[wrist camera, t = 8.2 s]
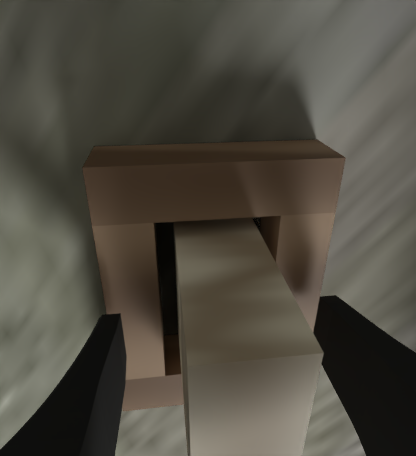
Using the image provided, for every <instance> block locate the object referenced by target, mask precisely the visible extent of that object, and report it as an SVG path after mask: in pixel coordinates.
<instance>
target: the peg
mask: <svg viewBox="0 0 416 456" xmlns="http://www.w3.org/2000/svg"><path fill="white" fill-rule="evenodd" d="M173 234H174V256H175V278H176V300H177V322H178V335H179V348H180V361H181V374H182V387H183V400H184V413H185V426H186V439H187V452H188V456H302V452H303V448H304V443H305V438H306V434H307V429H308V424H309V420H310V415H311V410H312V406H313V401H314V396H315V392H316V387H317V382H318V378H319V373H320V368H321V364H322V359H323V354H324V352H323V351H322V349H321V347H320V345H319V343H318V341H317V339H316V337H315V336H314V334H313V332H312V330H311V328H310V326H309V324H308V322H307V321H306V319H305V317H304V315H303V313H302V311H301V309H300V307H299V305H298V304H297V302H296V300H295V298H294V296H293V294H292V292H291V290H290V289H289V287H288V285H287V283H286V281H285V279H284V277H283V275H282V273H281V272H280V270H279V268H278V266H277V264H276V262H275V260H274V258H273V257H272V255H271V253H270V251H269V249H268V247H267V245H266V243H265V241H264V240H263V238H262V236H261V234H260V232H259V230H258V228H257V226H256V225H255V223H254V221H253V219H252V217H249V218H231V219H213V220H196V221H178V222H173Z"/></svg>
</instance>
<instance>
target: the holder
mask: <svg viewBox="0 0 416 456" xmlns="http://www.w3.org/2000/svg"><path fill="white" fill-rule="evenodd" d="M344 164H345V157H344V156H342V155H341V154H339V153H337V152H336V151H334V150H333V149H331V148H330V147H328V146H326V145H325V144H323V143H322V142H320V141H319V140H317V139H316V140H284V141H253V142H221V143H189V144H158V145H126V146H94V147H93V149H92V151H91V153H90V155H89V156H88V158H87V160H86V162H85V164H84V166H83V167H82V169H83V175H84V181H85V187H86V193H87V199H88V205H89V211H90V217H91V223H92V229H93V235H94V241H95V247H96V253H97V259H98V265H99V271H100V277H101V283H102V289H103V295H104V301H105V307H106V313H107V314H117V313H121V320H122V327H123V334H124V341H125V347H126V354H127V361H126V384H125V391H124V398H123V404H122V409H123V411H130V410H139V409H147V408H156V407H165V406H174V405H183V404H184V400H183V387H182V374H181V361H180V348H179V335H178V334H174V335H164V328H163V315H162V301H161V288H160V274H159V260H158V247H157V233H156V223H160V222H178V221H196V220H213V219H231V218H249V217H261V220H260V234H261V236H262V238H263V240H264V241H265V243H266V245H267V247H268V249H269V251H270V253H271V255H272V257H273V258H274V260H275V262H276V264H277V266H278V268H279V270H280V272H281V273H282V275H283V277H284V279H285V281H286V283H287V285H288V287H289V289H290V290H291V292H292V294H293V296H294V298H295V300H296V302H297V304H298V305H299V307H300V309H301V311H302V313H303V315H304V317H305V319H306V321H307V322H308V324H309V326H310V328H311V330H312V332H313V331H314V325H315V320H316V314H317V309H318V303H319V298H320V293H321V288H322V283H323V277H324V272H325V266H326V261H327V256H328V250H329V245H330V239H331V234H332V229H333V223H334V218H335V212H336V207H337V202H338V196H339V191H340V185H341V180H342V175H343V169H344Z"/></svg>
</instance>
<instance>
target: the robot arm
mask: <svg viewBox="0 0 416 456" xmlns="http://www.w3.org/2000/svg"><path fill="white" fill-rule="evenodd" d="M313 334H314V336H315V337H316V339H317V341H318V343H319V345H320V347H321V349H322V351H323V352H324V354H323V359H322V366H323V368H324V370H325V372H326V374H327V376H328V378H329V379H330V381H331V383H332V385H333V387H334V389H335V391H336V393H337V395H338V397H339V399H340V400H341V402H342V404H343V406H344V408H345V410H346V412H347V414H348V416H349V418H350V419H351V421H352V424H353V426H354V428H355V430H356V432H357V434H358V436H359V439H360V441H361V444H362V446H363V449H364V451H365V454H366V456H416V353H415V352H414V351H412V350H411V349H409V348H408V347H406V346H405V345H403V344H402V343H400V342H398V341H397V340H396V339H394V338H393V337H391V336H390V335H388V334H387V333H386V332H384V331H383V330H381V329H380V328H379V327H377V326H376V325H375V324H373V323H372V322H370V321H369V320H368V319H366V318H365V317H364V316H363V315H361V314H360V313H359V312H357V311H356V310H355V309H353V308H352V307H351V306H349V305H348V304H347V303H345V302H344V301H343V300H341V299H340V298H339V297H337V296H336V295H335V296H323V297H320V298H319V303H318V309H317V314H316V320H315V325H314V331H313ZM126 361H127V354H126V347H125V341H124V334H123V327H122V320H121V313H117V314H105V315H102V316H101V317H100V318H99V320H98V322H97V324H96V326H95V328H94V330H93V331H92V333H91V335H90V337H89V338H88V340H87V342H86V343H85V345H84V347H83V348H82V350H81V351H80V353H79V355H78V356H77V358H76V359H75V361H74V362H73V364H72V365H71V367H70V368H69V370H68V371H67V372H66V374H65V375H64V377H63V378H62V379H61V381H60V382H59V384H58V385H57V386H56V388H55V389H54V390H53V392H52V393H51V394H50V395H49V397H48V398H47V399H46V400H45V402H44V403H43V404H42V405H41V406H40V408H39V409H38V410H37V411H36V412H35V413H34V415H33V416H32V417H31V418H30V419H29V420H28V421H27V422H26V423H25V424H24V426H23V427H22V428H21V429H20V430H19V431H18V432H17V433H16V434H15V435H14V436H13V437H12V438H11V439H10V440H9V441H8V442H7V443H6V444H5V445H4V446H3V447H2V448H1V449H0V456H115V449H116V443H117V437H118V430H119V424H120V417H121V411H122V404H123V398H124V391H125V384H126Z"/></svg>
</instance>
